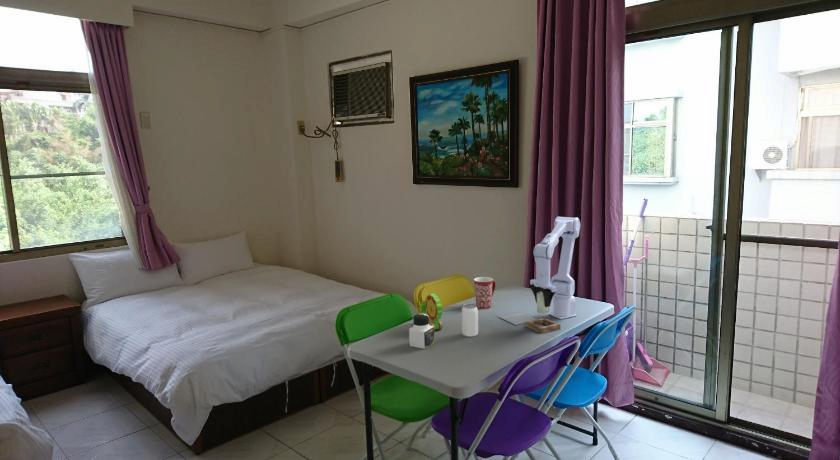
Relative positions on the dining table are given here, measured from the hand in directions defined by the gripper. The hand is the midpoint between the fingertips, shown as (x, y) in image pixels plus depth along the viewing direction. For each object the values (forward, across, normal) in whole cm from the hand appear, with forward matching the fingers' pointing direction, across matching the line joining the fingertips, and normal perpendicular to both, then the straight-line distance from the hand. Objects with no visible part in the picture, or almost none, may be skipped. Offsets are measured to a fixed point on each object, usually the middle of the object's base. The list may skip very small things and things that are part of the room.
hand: (543, 304), depth 215 cm
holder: (+10, 0, 0) cm, 10 cm away
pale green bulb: (+3, 0, 0) cm, 3 cm away
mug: (+10, -38, -3) cm, 39 cm away
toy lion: (+10, -25, -40) cm, 48 cm away
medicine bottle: (+10, -9, -52) cm, 54 cm away
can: (+10, -9, -30) cm, 33 cm away
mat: (+10, -14, -2) cm, 17 cm away
